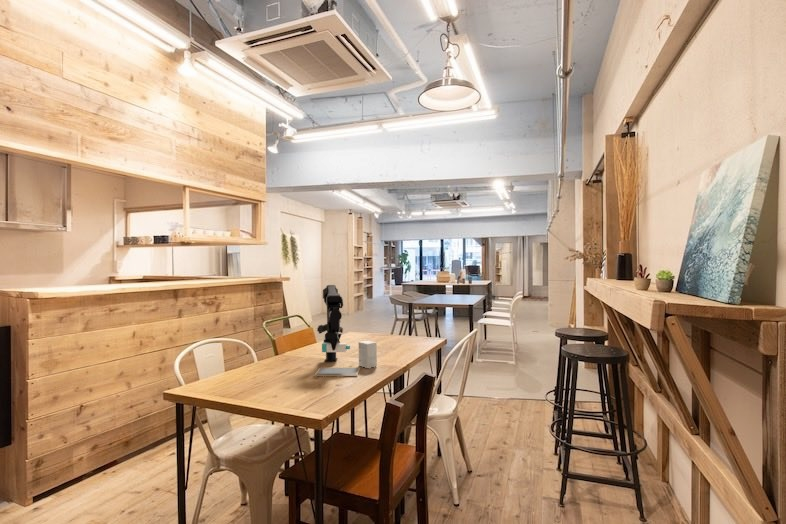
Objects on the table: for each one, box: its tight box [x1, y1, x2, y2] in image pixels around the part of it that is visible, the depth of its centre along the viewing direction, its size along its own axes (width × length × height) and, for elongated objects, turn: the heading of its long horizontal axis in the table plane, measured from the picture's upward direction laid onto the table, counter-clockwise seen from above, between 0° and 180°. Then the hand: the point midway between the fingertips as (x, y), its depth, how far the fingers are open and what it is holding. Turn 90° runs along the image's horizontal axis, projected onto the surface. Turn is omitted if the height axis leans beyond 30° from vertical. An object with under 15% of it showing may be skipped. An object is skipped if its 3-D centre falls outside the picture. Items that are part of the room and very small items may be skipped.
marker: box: [321, 342, 351, 353], centre depth 218 cm, size 4×14×4 cm, turn 87°
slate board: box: [313, 366, 361, 378], centre depth 214 cm, size 15×21×1 cm
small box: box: [358, 340, 378, 369], centre depth 225 cm, size 8×6×13 cm
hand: (334, 349), depth 218 cm, fingers closed on marker, 4 cm apart
